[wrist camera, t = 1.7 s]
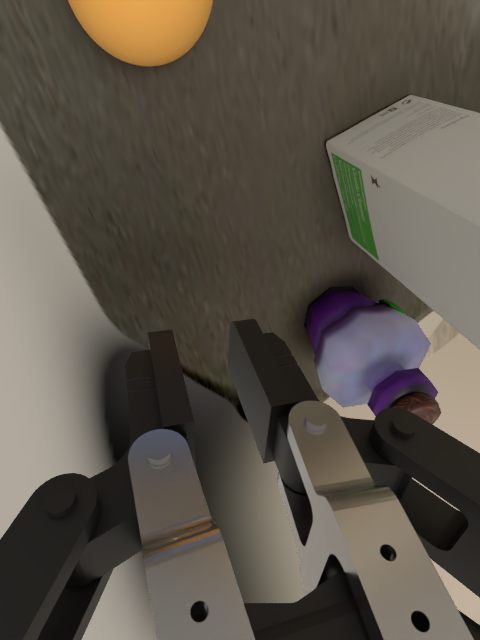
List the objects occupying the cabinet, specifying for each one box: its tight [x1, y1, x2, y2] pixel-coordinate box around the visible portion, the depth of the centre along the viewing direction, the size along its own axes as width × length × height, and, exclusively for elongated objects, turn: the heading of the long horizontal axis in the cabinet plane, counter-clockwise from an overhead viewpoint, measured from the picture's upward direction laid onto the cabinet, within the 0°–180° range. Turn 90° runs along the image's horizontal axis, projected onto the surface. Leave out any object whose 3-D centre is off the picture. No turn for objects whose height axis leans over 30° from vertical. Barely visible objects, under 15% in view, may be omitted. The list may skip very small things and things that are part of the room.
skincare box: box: [326, 95, 480, 349], centre depth 22 cm, size 8×7×16 cm
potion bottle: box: [304, 286, 441, 424], centre depth 30 cm, size 9×9×12 cm
